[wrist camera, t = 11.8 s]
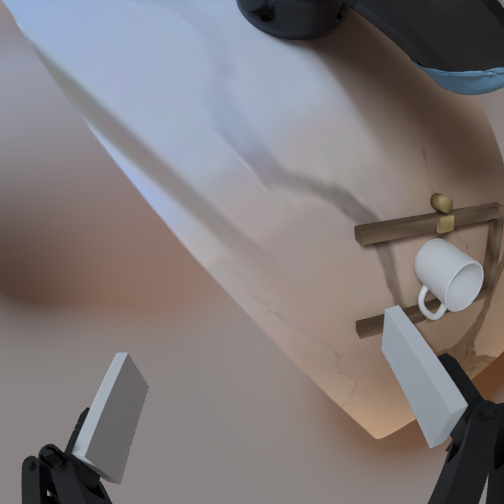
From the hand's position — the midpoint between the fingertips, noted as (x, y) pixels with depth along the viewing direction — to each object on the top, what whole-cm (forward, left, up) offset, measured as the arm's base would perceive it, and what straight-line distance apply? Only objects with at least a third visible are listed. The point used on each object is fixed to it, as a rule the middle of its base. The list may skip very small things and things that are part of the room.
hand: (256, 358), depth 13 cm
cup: (+14, +28, -27) cm, 41 cm away
